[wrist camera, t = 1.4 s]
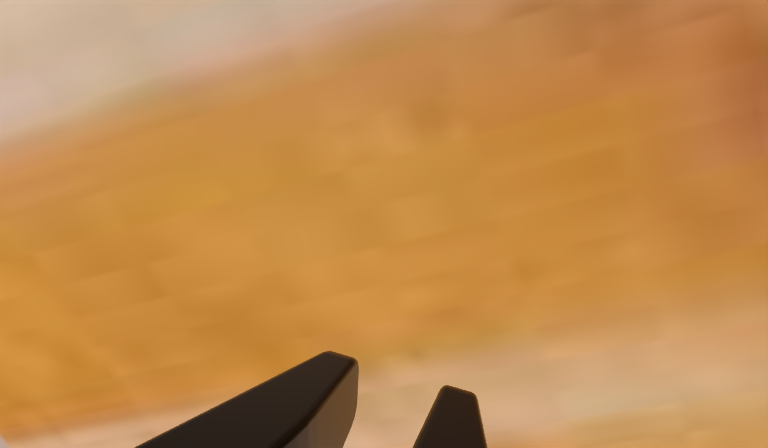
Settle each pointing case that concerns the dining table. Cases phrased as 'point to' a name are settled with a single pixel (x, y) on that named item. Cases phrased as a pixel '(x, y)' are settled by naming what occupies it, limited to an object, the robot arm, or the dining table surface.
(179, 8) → the dining table surface
